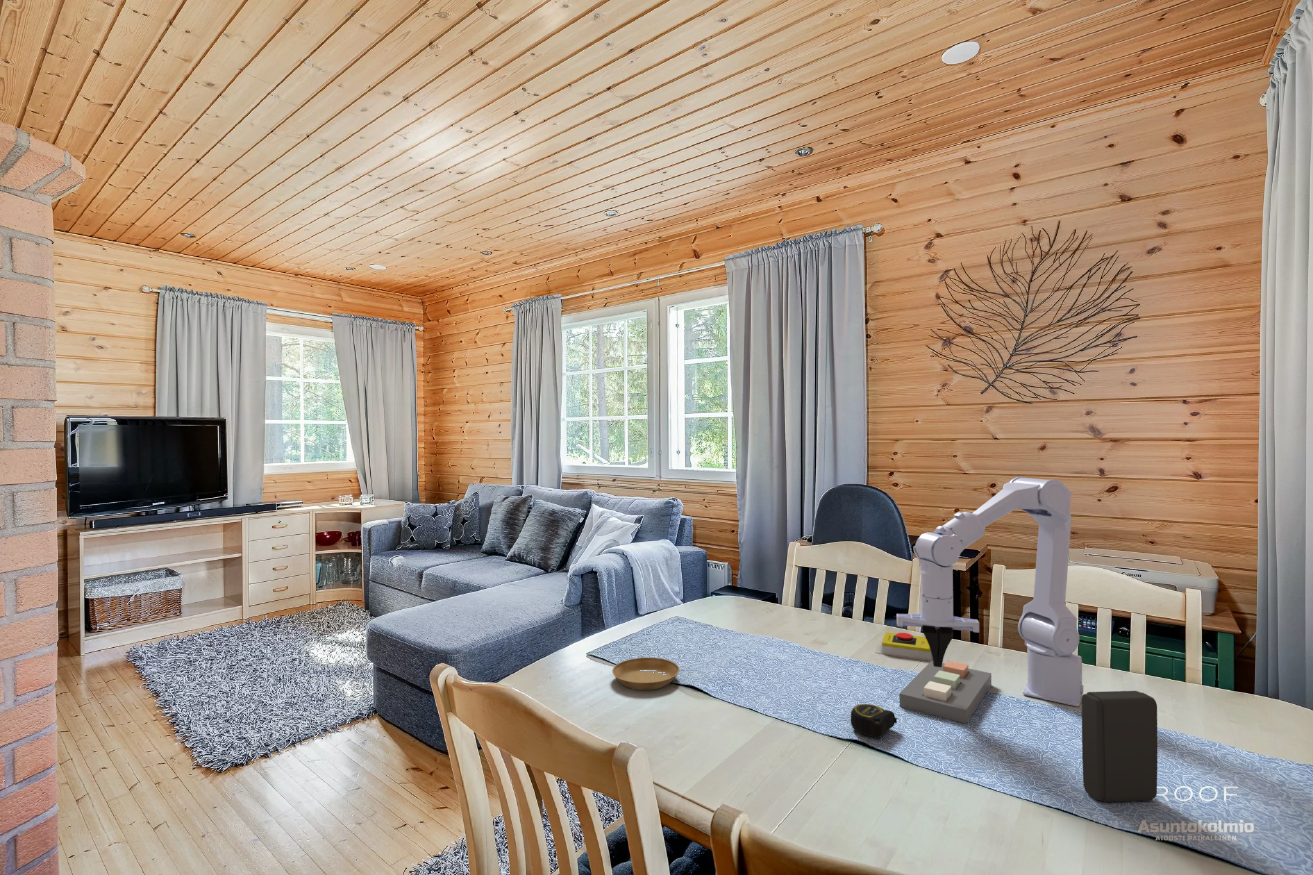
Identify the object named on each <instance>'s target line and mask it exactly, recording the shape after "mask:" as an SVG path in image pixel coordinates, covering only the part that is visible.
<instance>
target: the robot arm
mask: <svg viewBox="0 0 1313 875" xmlns="http://www.w3.org/2000/svg"><path fill="white" fill-rule="evenodd" d="M1071 497H1072V491H1071V490H1070V489H1069V488H1068V487H1067V486H1066V485H1065V484H1064V483H1063V482H1062V481H1060V480H1058V479H1053V478H1052V479H1044V478H1032V477H1031V478H1030V477H1024V476H1016V477H1014V478H1012V479H1011V480H1009V481H1007V482H1006V483H1004V484H1003V487H1002V489H1001V490H1000V491H999V492H997V493H996V494H995V495H994V496H992V497H991V498H989V500H987V501H986V502H985V503H983V504H982V505H981V506H980V507H978V508H977V509H976V510H974V511H973V512H969V511H962V512H960V511H959V512H956V513H955V514H954V515H953V516H954V518H952V519H950V520H949V521H947V522H946V523H945V524H943V525H942V526H941V525H938V526H937V527H936V528H935V530H934V531H933V532H932V531H930V532H925V533H924V532H923V533H922V534H921V535H920V536H919V537H918V538H917V540H916V542H915V545H914V546H913V547H912V548H913V552H914V555H915V556H916V558H917V560H918V566H919V567H920V613H896V626H897V627H902V628H903V627H915V628H916V627H918V628H921V631H922V632H923V634H924V637H926V639H927V642H928V644H929V647H930V650H931V654H932V660H933V665H934V667H942V663H944V662H943V661H944V657H945V654H946V652H947V649H948V647H949V645H950V643H951V641H952V639H953V638H954V630H955V631H956V630H957V631H966V632H967V631H969V632H972V633H980V622H979V620H978V619H976V618H975V619H973V618H964V617H959V616H955V615H954V590H953V589H954V586H953V585H954V583H953V582H954V580H953V579H954V578H953V577H954V576H953V574H954V572H953V569H954V567H953V566H954V564H956V563H957V562H958V561H959V558H960V555H961V553H962V552H963V551H964V550H965V549H966V548H969V546H971V545H972V544H974V543H975V542H977V541H978V540H979V539H981V538H982V537H984V536H985V532H986V527H988V526H989V525H991V524H992V523H995V522H996V521H998V520H999V519H1001V518H1004V517H1005V516H1006V515H1008V514H1010V513H1011V512H1013V511H1015V510H1021V511H1023V512H1025V513H1027V514H1028V515H1029V516H1030V517H1031V518H1033V519H1034V521H1035V522H1037V523H1038V532H1037V533H1038V536H1037V547H1036V562H1035V572H1034V573H1035V575H1034V587H1033V599H1032V600H1031V601H1029V602H1027V603H1026V604H1024V605H1023V607H1022V613H1021V614H1022V615H1021V617H1019V620H1018V625H1017V630H1018V633H1019V636H1020V637H1021V638H1022V640H1024V646H1026V647H1027V648H1026V649H1027V652H1026V653H1027V654H1026V655H1027V657H1026V658H1027V683H1026V684H1025V687H1024V688H1023V691H1022V694H1023V695H1024V696H1028V697H1033V698H1037V699H1041V700H1047V701H1050V702H1055V703H1059V704H1060V703H1061V704H1064V705H1069V706H1074V707H1080V706H1081V705H1080V704H1081V702H1082V696H1083V695H1084V685H1083V658H1082V656H1080V655H1077V654H1074V652H1075V651H1076V649H1078V648H1079V647H1078V646H1079V644H1080V633H1079V631H1078V627H1077V623H1078V622H1077V620H1078V618H1077V617H1076V616H1075V614H1074V613H1073V612H1072V611H1071V610H1070V609H1069V607H1067V605H1066V596H1067V582H1068V570H1069V568H1068V567H1069V556H1070V543H1071V528H1072V514H1071V500H1072V498H1071Z"/></svg>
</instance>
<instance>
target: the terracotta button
mask: <svg viewBox="0 0 1313 875" xmlns="http://www.w3.org/2000/svg"><path fill="white" fill-rule="evenodd" d="M968 668H969V664H967V663H962V662H957V661H952V660H947V661H946V662H945V665H944V666H943V671H944V672H949V673H954V674H958V675H960V677H961V678H966V677H967V675H968Z"/></svg>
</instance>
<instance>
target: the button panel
mask: <svg viewBox="0 0 1313 875" xmlns="http://www.w3.org/2000/svg"><path fill="white" fill-rule="evenodd" d="M945 663H946V662H945ZM945 663H944V662H942V667H934V665H933V661H929V663H928V664H927V665H926V666H925V667H923V669H921V671H920V672H919V673H917V675H916V676H915V677H914V678H913V679H912V680H910V682H908V684H907V685H906V686H905V687H904V688H903V689H902V690H901V691H900V692H899V695H898V696H899V707H902V708H905V709H909V710H912V711H916V712H921V713H924V714H929V715H931V716H932V715H933V716H935V717H936V716H937V717H941V718H943V719H948V720H951V721H956V722H959V723H963V724H968V722H969V721H970V719H971V717H972V716H973V714H974V713H975V712H976V710H977V708H978V706H979V705H980V703H981V702H982V700H984V697H985V696H986V695H987V693H988V691H989V690H990V688H991V687H992V673H991V672H988V671H987V672H986V671H982V670H977V669H972V668H969V667H968V675H967V677H966V678H961V677H960V686H959V687H958V688H957V689H952V688H951V697H950V699H949V700H948V701H943V700H939V699H934V698H930V697H926V696H924V687H925V686H926V685H927V683H928V682H929V681H932V682H934V676H935V675H936V673H937V672H938V671H939V670H940V671H943V666H944V665H945Z"/></svg>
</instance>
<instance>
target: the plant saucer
mask: <svg viewBox="0 0 1313 875" xmlns="http://www.w3.org/2000/svg"><path fill="white" fill-rule="evenodd" d="M640 670H657V671H640ZM611 672H612V674H613V676H614V678H616V680H618V682H619V683H620V684H621V685H623V686H624V687H627V688H629V689H632V690H636V691H651V690H659V689H661V688H664V687H666V686H668V685H670V683H671V682H673V680H675V678H676V677H677V676H678V674H679V673H680V667H679V665H678V664H677V663H675V662H674V661H672V660H669V659H665V658H660V657H636V658H635V657H634V658H630V659H627V660H623V661H621V662H618V663H617V664H616V665H614V666H613V668H612V670H611ZM653 672H655V673H653ZM658 672H662V673H658ZM663 672H665V673H663ZM663 674H666V675H663Z"/></svg>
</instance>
